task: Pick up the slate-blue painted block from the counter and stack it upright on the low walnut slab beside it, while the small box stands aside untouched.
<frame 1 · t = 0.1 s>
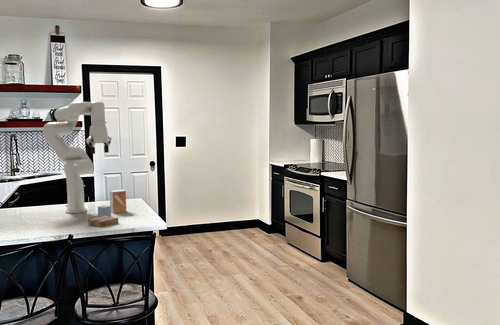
hand: (99, 153, 268), 37 cm above the breakfast bar, tool pointing down, fingers open, 9 cm apart
small box: (118, 212, 281), on the breakfast bar
blue block: (104, 218, 263), on the breakfast bar
walnut slab: (103, 224, 248), on the breakfast bar
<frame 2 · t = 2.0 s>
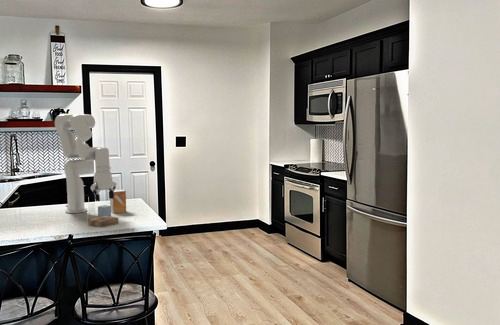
hand: (104, 199, 261), 11 cm above the breakfast bar, tool pointing down, fingers open, 9 cm apart
nothing on the breakfast bar moved.
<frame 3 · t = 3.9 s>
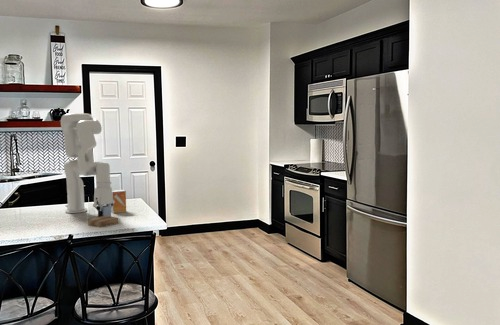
hand: (104, 216, 262), 1 cm above the breakfast bar, tool pointing down, fingers closed on blue block, 5 cm apart
blue block: (104, 218, 263), on the breakfast bar, touching gripper
everything else where it was.
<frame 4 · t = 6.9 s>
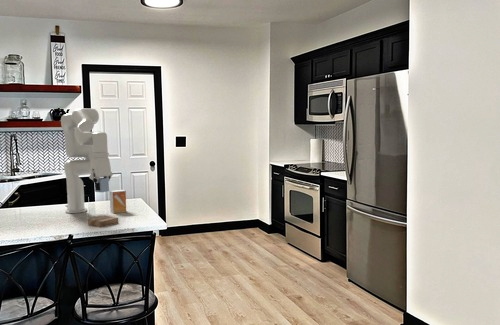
hand: (101, 189, 246), 19 cm above the breakfast bar, tool pointing down, fingers closed on blue block, 5 cm apart
blue block: (102, 191, 247), point 18 cm above the breakfast bar, touching gripper
everything else where it was.
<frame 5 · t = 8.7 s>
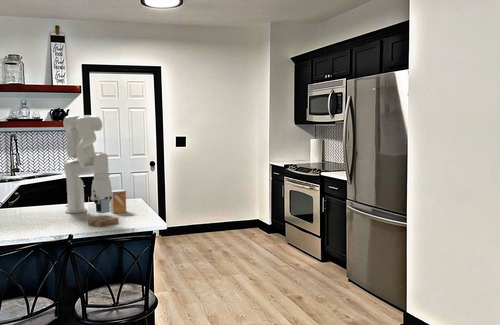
hand: (102, 209, 247), 8 cm above the breakfast bar, tool pointing down, fingers closed on blue block, 5 cm apart
blue block: (103, 212, 247), point 6 cm above the breakfast bar, touching gripper
everything else where it was.
when the fingers open (5 cm above the breakfast bar, at t = 10.1 s): blue block drops 1 cm, resting on walnut slab.
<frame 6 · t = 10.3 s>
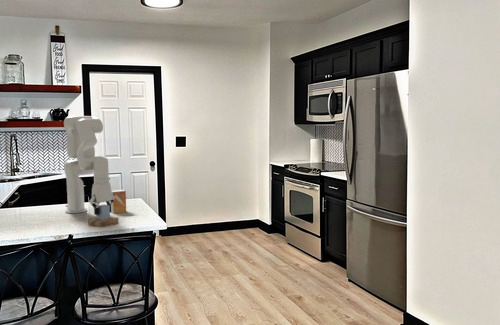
hand: (103, 213, 248), 6 cm above the breakfast bar, tool pointing down, fingers open, 7 cm apart
blue block: (103, 218, 248), point 3 cm above the breakfast bar, touching walnut slab
everything else where it was.
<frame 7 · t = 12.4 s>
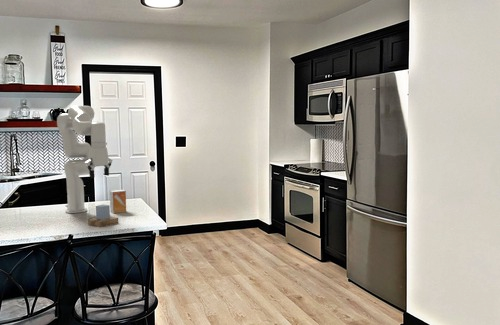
hand: (99, 176, 253), 25 cm above the breakfast bar, tool pointing down, fingers open, 9 cm apart
nothing on the breakfast bar moved.
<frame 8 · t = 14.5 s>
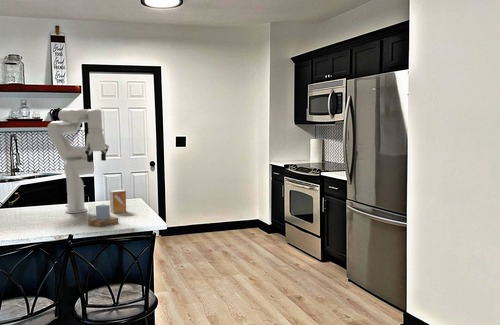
hand: (96, 161, 264), 32 cm above the breakfast bar, tool pointing down, fingers open, 9 cm apart
nothing on the breakfast bar moved.
at the end: blue block inside the target area on the walnut slab (0.0 cm from its centre), point 3.0 cm above the walnut slab's base; blue block tilted 0°; the gripper is holding nothing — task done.
